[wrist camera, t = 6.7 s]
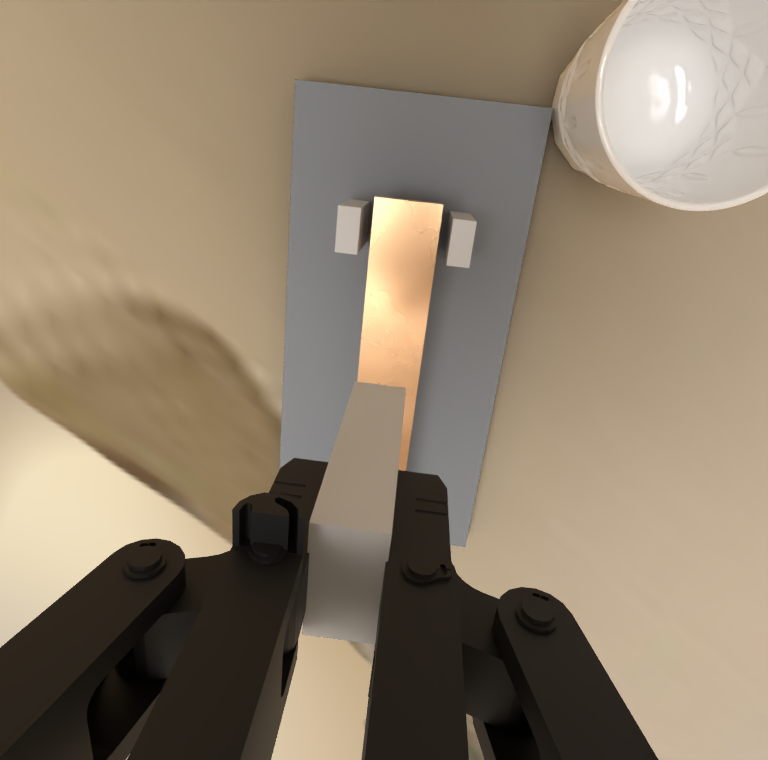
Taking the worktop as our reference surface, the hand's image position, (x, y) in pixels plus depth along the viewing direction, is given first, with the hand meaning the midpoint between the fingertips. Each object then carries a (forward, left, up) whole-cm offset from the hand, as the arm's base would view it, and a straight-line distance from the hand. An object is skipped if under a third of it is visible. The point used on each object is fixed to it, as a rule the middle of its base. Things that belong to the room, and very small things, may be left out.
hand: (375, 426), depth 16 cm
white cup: (-11, +9, -16) cm, 21 cm away
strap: (+4, 0, -12) cm, 12 cm away
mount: (+2, 0, -16) cm, 16 cm away
